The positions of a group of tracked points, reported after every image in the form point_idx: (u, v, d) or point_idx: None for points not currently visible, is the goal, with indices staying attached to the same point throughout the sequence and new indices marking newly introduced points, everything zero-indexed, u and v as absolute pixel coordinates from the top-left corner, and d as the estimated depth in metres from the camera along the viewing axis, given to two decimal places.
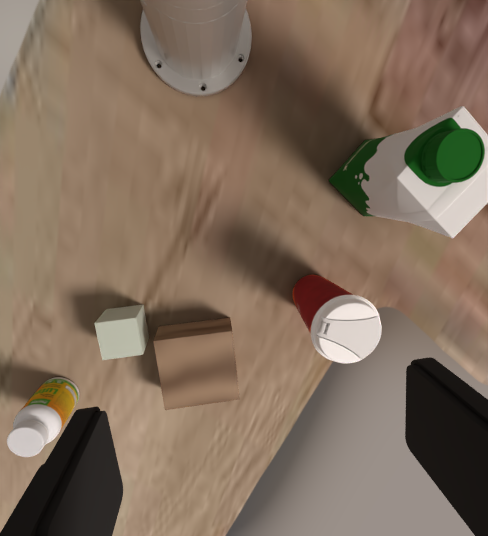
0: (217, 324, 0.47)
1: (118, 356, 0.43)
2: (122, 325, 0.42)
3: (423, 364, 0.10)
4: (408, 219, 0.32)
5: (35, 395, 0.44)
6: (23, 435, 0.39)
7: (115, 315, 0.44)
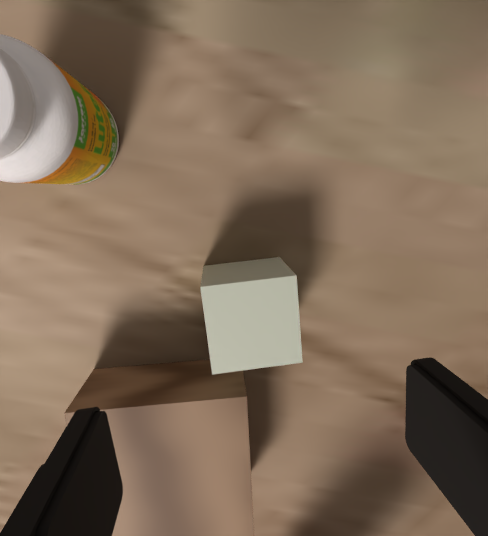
0: None
1: (209, 322, 0.18)
2: (287, 335, 0.19)
3: (423, 364, 0.10)
4: None
5: (89, 99, 0.16)
6: None
7: None
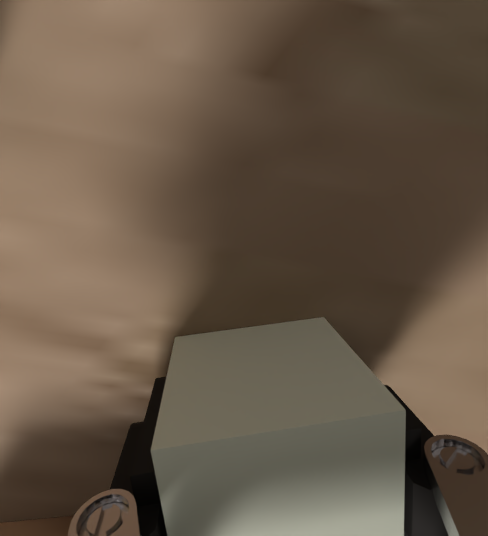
0: None
1: (177, 532, 0.07)
2: None
3: None
4: None
5: None
6: None
7: None
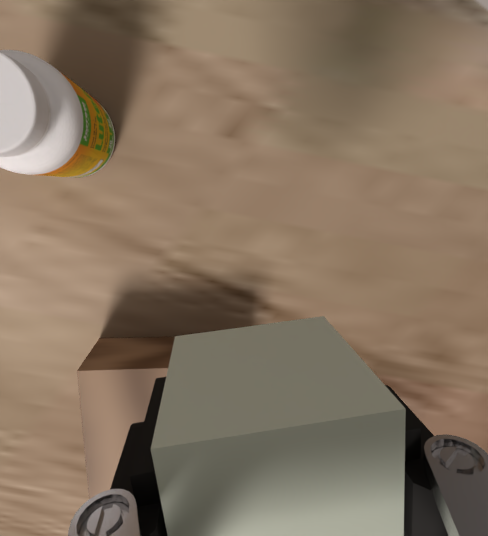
0: None
1: (177, 530, 0.07)
2: None
3: None
4: None
5: (90, 103, 0.19)
6: (7, 98, 0.13)
7: None
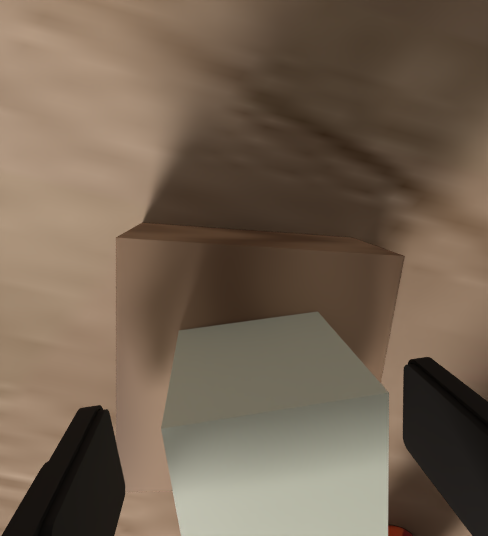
0: None
1: (184, 502, 0.08)
2: (358, 514, 0.08)
3: (420, 363, 0.10)
4: None
5: None
6: None
7: None
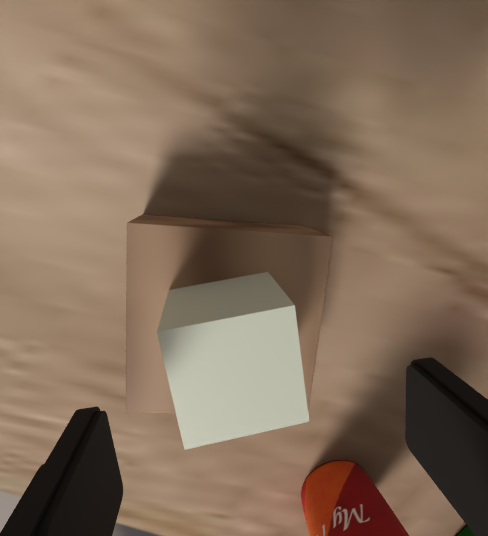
0: None
1: (174, 380, 0.13)
2: (285, 387, 0.13)
3: (423, 364, 0.10)
4: None
5: None
6: None
7: None
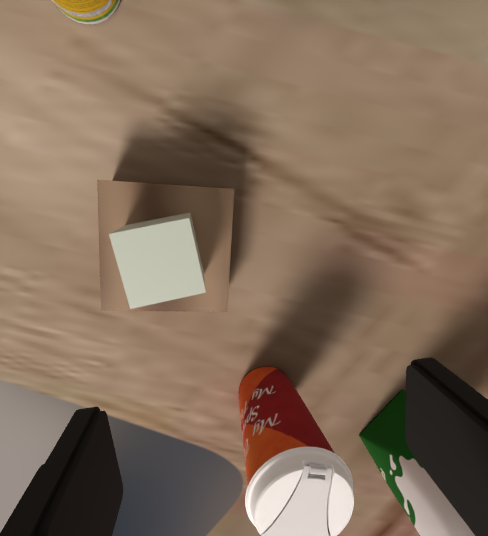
0: None
1: (121, 264, 0.22)
2: (188, 269, 0.22)
3: (423, 364, 0.10)
4: None
5: None
6: None
7: (196, 245, 0.24)
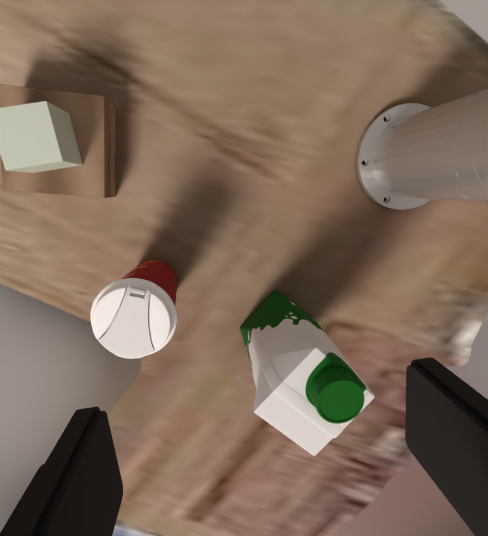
0: (111, 181, 0.39)
1: None
2: (48, 142, 0.30)
3: (423, 364, 0.10)
4: (264, 366, 0.32)
5: None
6: None
7: (61, 129, 0.32)
